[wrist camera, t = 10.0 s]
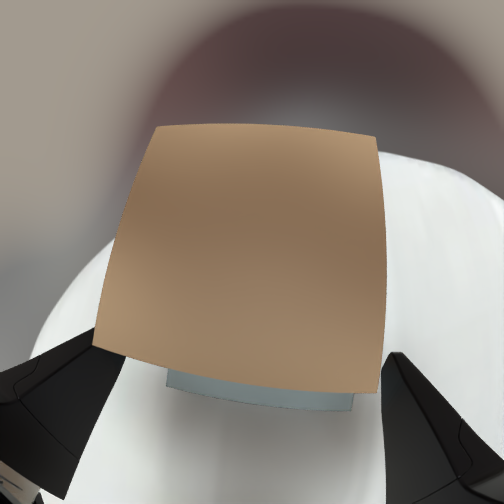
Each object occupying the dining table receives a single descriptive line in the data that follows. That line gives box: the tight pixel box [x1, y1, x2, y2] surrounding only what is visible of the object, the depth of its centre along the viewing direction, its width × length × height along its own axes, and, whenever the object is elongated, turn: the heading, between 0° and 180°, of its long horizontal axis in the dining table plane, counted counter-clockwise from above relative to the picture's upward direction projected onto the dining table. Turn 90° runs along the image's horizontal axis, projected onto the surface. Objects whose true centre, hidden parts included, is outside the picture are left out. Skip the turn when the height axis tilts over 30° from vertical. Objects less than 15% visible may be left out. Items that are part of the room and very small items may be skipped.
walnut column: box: [92, 124, 387, 393], centre depth 11 cm, size 5×5×13 cm
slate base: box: [166, 368, 354, 411], centre depth 18 cm, size 12×12×3 cm
